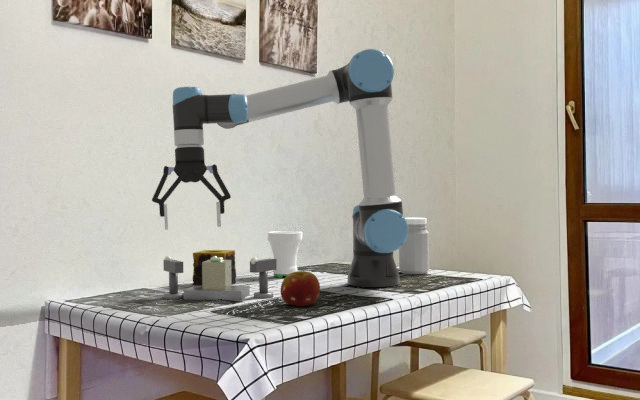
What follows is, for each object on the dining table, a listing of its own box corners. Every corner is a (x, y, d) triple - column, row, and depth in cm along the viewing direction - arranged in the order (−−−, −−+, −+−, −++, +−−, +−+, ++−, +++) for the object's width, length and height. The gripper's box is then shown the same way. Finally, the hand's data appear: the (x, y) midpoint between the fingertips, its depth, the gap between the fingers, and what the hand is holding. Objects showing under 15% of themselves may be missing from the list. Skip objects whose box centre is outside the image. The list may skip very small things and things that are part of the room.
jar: (408, 270, 229) (407, 217, 228) (434, 272, 223) (434, 217, 223) (393, 273, 221) (393, 218, 220) (420, 275, 215) (420, 219, 215)
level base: (249, 294, 178) (249, 254, 178) (241, 300, 169) (241, 257, 169) (194, 294, 180) (194, 254, 180) (183, 299, 171) (183, 257, 171)
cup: (309, 275, 217) (309, 231, 216) (289, 279, 207) (289, 233, 207) (281, 273, 223) (281, 230, 222) (260, 277, 213) (260, 232, 213)
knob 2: (266, 293, 179) (265, 254, 179) (280, 295, 176) (280, 255, 176) (244, 298, 172) (244, 257, 172) (259, 300, 169) (259, 258, 169)
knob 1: (188, 298, 172) (188, 257, 172) (170, 300, 170) (169, 258, 169) (176, 294, 179) (175, 254, 179) (158, 296, 177) (157, 256, 176)
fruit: (288, 310, 156) (288, 275, 156) (275, 304, 164) (274, 271, 164) (326, 306, 160) (326, 272, 160) (311, 301, 168) (311, 268, 168)
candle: (225, 288, 192) (225, 253, 191) (191, 287, 194) (191, 252, 193) (237, 283, 202) (236, 249, 201) (205, 282, 204) (204, 249, 203)
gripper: (235, 146, 183) (238, 224, 184) (140, 149, 178) (144, 229, 178) (238, 144, 176) (242, 226, 177) (139, 147, 170) (143, 231, 171)
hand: (193, 228), depth 177 cm, fingers open, 13 cm apart
